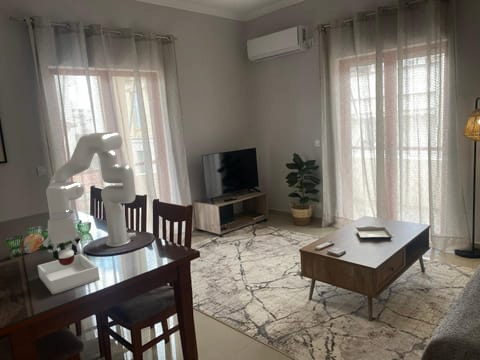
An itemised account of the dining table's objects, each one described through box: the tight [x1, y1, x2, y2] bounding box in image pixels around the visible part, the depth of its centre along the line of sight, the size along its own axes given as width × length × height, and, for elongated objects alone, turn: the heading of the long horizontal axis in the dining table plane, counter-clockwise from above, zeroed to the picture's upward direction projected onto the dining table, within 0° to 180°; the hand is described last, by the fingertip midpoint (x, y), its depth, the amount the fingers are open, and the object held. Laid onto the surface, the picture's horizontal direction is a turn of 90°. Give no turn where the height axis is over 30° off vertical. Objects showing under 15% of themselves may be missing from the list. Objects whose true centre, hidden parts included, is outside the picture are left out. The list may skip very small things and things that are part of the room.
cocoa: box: [58, 242, 74, 266], centre depth 150 cm, size 10×6×12 cm, turn 26°
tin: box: [19, 232, 46, 254], centre depth 189 cm, size 15×3×8 cm, turn 168°
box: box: [37, 253, 100, 295], centre depth 151 cm, size 18×22×6 cm
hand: (65, 256), depth 150 cm, fingers closed on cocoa, 6 cm apart
